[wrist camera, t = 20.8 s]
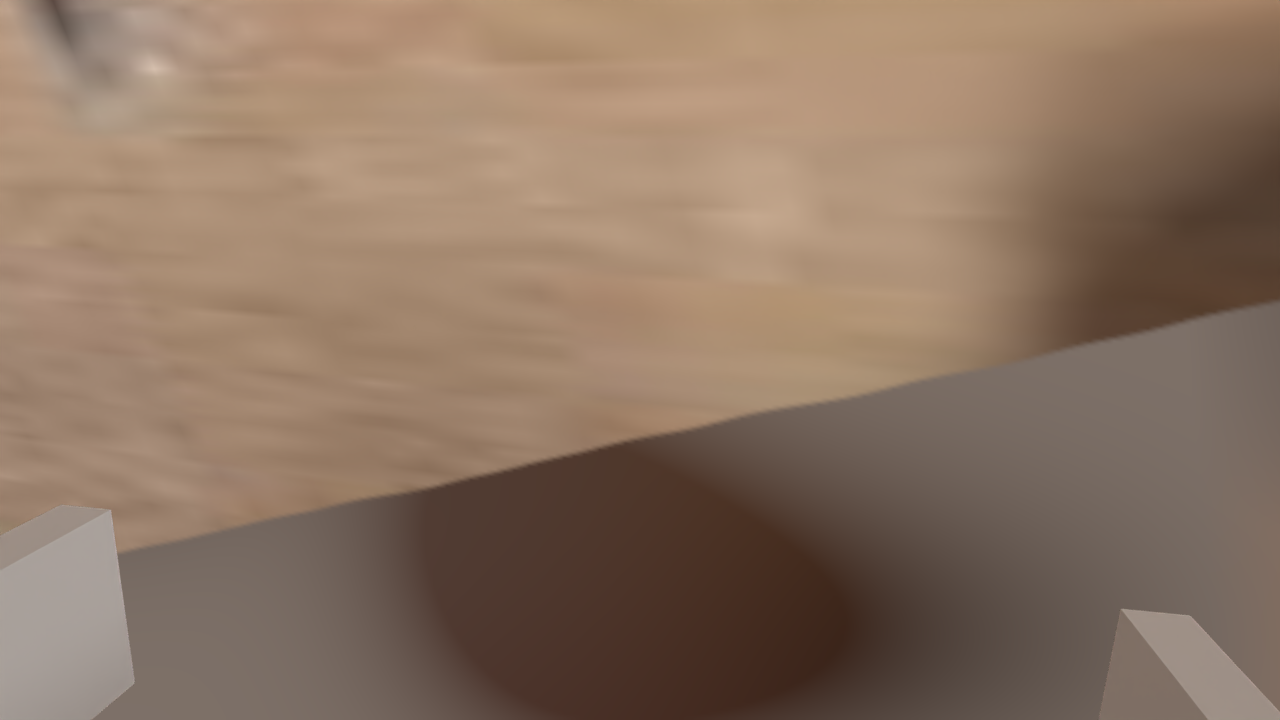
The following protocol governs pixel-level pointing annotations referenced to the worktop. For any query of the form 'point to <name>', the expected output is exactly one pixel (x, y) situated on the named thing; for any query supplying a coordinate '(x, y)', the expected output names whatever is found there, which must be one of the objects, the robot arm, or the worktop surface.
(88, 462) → the worktop surface
